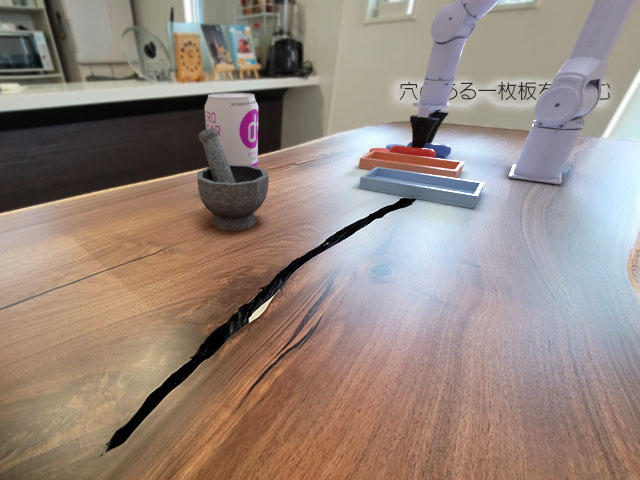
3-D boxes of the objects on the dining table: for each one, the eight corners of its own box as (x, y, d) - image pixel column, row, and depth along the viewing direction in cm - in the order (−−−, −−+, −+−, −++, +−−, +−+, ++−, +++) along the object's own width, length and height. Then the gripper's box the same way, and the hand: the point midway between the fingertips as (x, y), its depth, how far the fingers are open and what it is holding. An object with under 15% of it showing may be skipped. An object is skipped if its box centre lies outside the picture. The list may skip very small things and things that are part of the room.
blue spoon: (451, 155, 83) (454, 143, 81) (446, 160, 79) (450, 147, 78) (388, 148, 90) (391, 137, 88) (382, 152, 86) (384, 140, 85)
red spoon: (435, 160, 80) (439, 147, 78) (430, 164, 76) (434, 152, 75) (372, 152, 87) (374, 140, 85) (365, 156, 83) (367, 144, 82)
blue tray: (374, 177, 70) (376, 166, 68) (480, 194, 61) (485, 182, 60) (358, 188, 64) (360, 176, 63) (472, 208, 55) (477, 196, 54)
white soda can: (265, 190, 64) (267, 93, 55) (240, 204, 58) (239, 99, 49) (227, 183, 67) (224, 91, 59) (200, 196, 62) (192, 96, 53)
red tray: (371, 159, 81) (373, 150, 79) (461, 172, 72) (464, 161, 71) (358, 167, 75) (359, 157, 74) (453, 182, 66) (457, 171, 65)
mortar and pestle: (280, 223, 51) (285, 132, 45) (230, 242, 47) (227, 143, 40) (230, 203, 59) (228, 122, 52) (182, 218, 54) (173, 130, 47)
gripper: (427, 77, 82) (411, 140, 90) (410, 81, 73) (394, 151, 80) (461, 77, 79) (442, 143, 87) (448, 82, 69) (427, 156, 77)
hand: (421, 148), depth 83 cm, fingers open, 7 cm apart
